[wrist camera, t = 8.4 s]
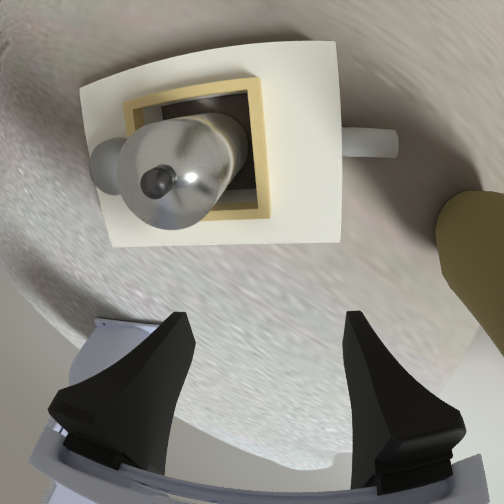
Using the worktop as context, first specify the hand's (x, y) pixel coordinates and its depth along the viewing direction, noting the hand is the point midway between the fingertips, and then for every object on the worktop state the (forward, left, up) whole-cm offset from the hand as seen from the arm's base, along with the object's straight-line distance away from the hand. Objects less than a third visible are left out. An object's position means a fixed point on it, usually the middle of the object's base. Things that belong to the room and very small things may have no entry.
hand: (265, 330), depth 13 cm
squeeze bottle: (+15, +1, -10) cm, 18 cm away
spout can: (-4, +7, -10) cm, 12 cm away
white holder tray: (-2, +7, -10) cm, 12 cm away
